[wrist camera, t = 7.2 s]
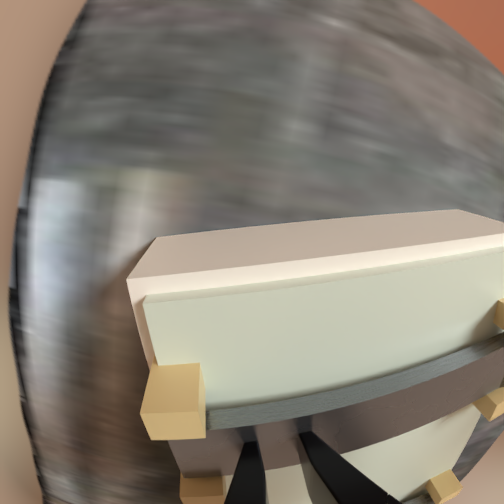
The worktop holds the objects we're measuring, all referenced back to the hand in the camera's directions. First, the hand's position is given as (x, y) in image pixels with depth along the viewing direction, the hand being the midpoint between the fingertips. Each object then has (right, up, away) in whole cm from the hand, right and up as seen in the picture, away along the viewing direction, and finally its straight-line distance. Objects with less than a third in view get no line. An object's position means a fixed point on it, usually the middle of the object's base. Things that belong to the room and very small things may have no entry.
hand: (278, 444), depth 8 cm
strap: (+4, +1, +1) cm, 4 cm away
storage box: (+4, -3, +9) cm, 10 cm away
